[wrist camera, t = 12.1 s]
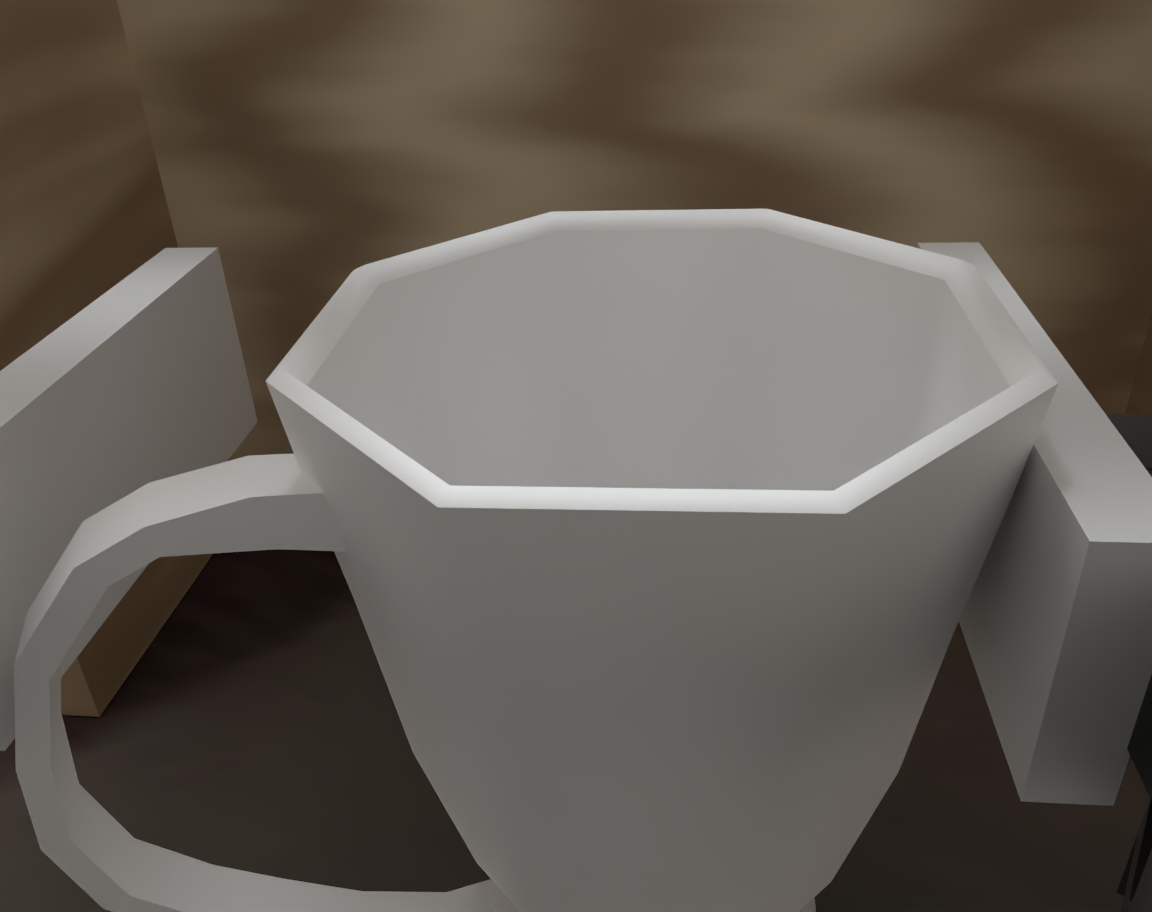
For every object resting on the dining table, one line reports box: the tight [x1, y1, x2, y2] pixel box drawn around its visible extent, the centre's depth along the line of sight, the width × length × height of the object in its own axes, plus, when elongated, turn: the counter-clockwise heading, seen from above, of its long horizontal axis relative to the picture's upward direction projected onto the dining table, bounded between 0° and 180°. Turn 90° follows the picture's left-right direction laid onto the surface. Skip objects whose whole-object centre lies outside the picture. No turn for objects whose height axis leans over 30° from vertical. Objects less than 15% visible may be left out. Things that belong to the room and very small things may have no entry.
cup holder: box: [0, 0, 1152, 717], centre depth 17 cm, size 24×9×19 cm, turn 84°
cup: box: [14, 209, 1058, 912], centre depth 11 cm, size 7×10×8 cm
